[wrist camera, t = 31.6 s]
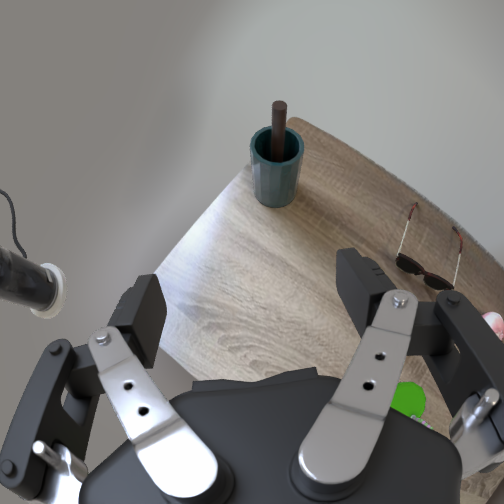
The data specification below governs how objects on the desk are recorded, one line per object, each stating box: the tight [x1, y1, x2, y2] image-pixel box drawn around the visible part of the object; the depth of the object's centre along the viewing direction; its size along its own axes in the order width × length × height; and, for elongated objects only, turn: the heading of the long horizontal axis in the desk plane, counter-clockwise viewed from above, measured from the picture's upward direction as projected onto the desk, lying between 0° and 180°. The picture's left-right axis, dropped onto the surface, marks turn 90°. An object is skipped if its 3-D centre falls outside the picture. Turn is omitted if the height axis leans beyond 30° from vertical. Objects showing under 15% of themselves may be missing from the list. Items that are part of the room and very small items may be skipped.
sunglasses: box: [395, 202, 462, 290], centre depth 50 cm, size 14×16×5 cm
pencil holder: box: [250, 126, 304, 208], centre depth 50 cm, size 8×8×14 cm
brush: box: [270, 101, 287, 163], centre depth 46 cm, size 4×4×22 cm
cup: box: [390, 382, 433, 429], centre depth 37 cm, size 8×8×15 cm
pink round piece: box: [481, 312, 504, 341], centre depth 42 cm, size 8×8×7 cm
